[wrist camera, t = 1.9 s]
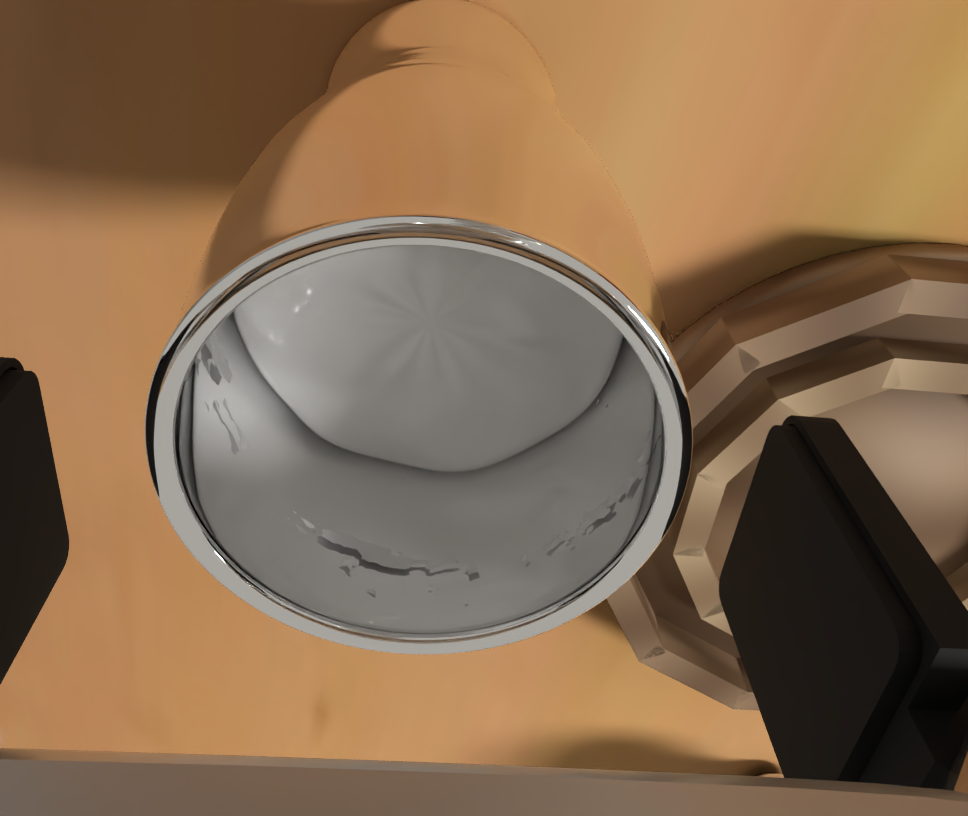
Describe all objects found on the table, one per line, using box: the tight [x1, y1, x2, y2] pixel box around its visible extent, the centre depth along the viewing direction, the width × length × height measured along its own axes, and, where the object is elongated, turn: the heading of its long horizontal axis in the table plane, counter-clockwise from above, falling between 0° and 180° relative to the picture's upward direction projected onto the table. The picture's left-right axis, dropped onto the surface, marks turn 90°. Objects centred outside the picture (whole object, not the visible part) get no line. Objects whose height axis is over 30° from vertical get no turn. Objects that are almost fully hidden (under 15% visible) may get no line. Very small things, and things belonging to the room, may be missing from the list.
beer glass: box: [145, 0, 693, 655], centre depth 17 cm, size 7×7×15 cm
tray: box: [606, 243, 968, 710], centre depth 29 cm, size 18×18×3 cm
